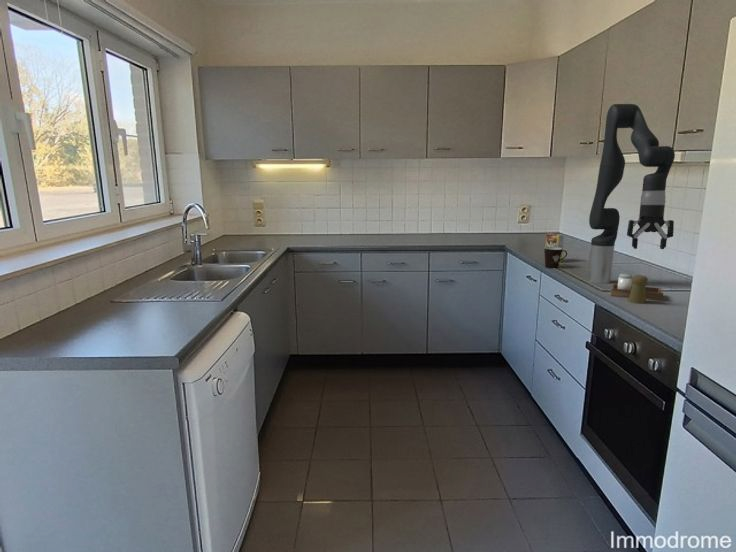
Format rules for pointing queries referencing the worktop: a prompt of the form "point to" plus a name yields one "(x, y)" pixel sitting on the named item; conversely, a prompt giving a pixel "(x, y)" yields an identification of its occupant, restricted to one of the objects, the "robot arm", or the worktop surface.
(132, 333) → the worktop surface
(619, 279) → the salt shaker
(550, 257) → the coffee mug
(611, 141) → the robot arm
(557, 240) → the candy box
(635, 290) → the cork
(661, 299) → the spice caddy
